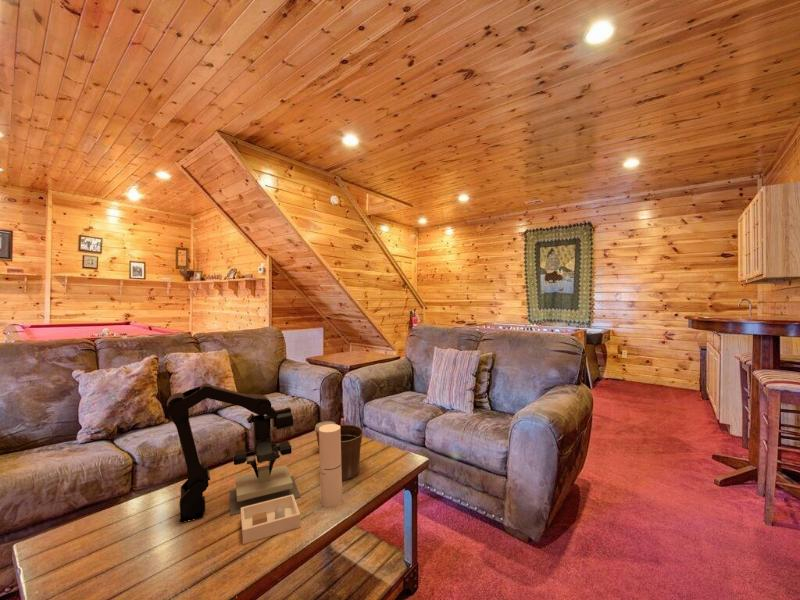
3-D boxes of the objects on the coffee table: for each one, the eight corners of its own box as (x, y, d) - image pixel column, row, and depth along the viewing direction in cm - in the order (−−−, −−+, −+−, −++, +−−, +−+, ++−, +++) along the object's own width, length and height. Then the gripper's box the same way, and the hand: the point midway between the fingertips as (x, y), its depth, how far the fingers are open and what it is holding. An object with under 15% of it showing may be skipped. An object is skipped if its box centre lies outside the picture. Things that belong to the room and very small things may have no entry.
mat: (230, 515, 117) (230, 514, 117) (229, 491, 131) (229, 490, 131) (300, 497, 126) (300, 496, 126) (292, 476, 140) (292, 475, 140)
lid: (237, 501, 118) (236, 483, 118) (235, 482, 131) (235, 465, 130) (292, 488, 126) (292, 471, 126) (286, 470, 138) (286, 455, 138)
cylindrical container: (337, 508, 119) (335, 432, 119) (317, 506, 121) (315, 431, 120) (345, 496, 126) (343, 424, 126) (325, 494, 128) (324, 423, 127)
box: (242, 544, 103) (242, 530, 103) (241, 520, 114) (240, 507, 114) (300, 527, 110) (300, 514, 110) (293, 506, 121) (293, 494, 121)
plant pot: (361, 484, 134) (360, 441, 133) (317, 484, 134) (316, 441, 133) (366, 463, 150) (365, 424, 149) (327, 463, 150) (326, 424, 150)
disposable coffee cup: (339, 447, 166) (339, 420, 165) (334, 456, 156) (333, 429, 156) (319, 446, 167) (318, 420, 166) (312, 456, 157) (311, 428, 157)
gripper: (233, 446, 116) (235, 494, 117) (293, 435, 125) (294, 480, 125) (232, 434, 126) (234, 478, 127) (288, 424, 135) (289, 466, 135)
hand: (263, 476), depth 128 cm, fingers closed on lid, 3 cm apart
